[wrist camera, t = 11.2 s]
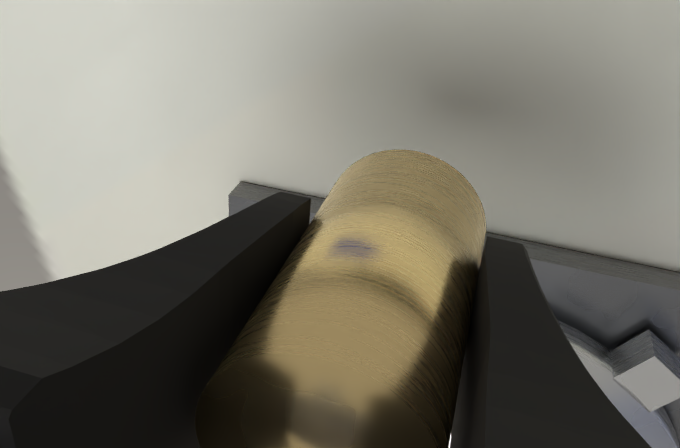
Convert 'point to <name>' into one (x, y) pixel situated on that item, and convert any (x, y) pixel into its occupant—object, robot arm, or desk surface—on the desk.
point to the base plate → (577, 289)
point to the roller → (359, 319)
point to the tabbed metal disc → (634, 381)
